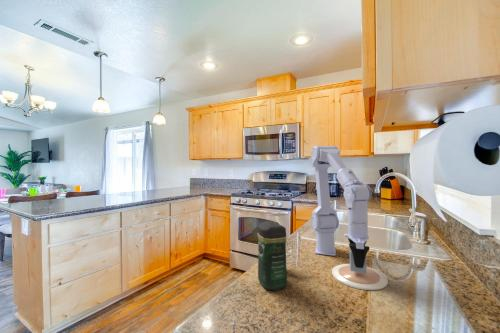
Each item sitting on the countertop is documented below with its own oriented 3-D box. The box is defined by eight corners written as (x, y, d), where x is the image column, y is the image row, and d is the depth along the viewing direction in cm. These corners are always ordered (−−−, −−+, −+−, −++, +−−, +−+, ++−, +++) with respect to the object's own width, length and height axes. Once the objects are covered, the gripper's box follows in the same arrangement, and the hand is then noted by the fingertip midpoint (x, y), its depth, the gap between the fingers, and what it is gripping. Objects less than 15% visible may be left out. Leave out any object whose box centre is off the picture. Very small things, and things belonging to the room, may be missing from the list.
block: (349, 265, 75) (349, 247, 75) (364, 267, 74) (364, 248, 74) (350, 270, 71) (350, 251, 71) (366, 273, 69) (366, 253, 70)
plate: (332, 263, 83) (332, 260, 83) (382, 269, 77) (382, 266, 77) (331, 284, 68) (331, 281, 68) (393, 294, 62) (393, 290, 62)
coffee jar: (291, 288, 66) (290, 225, 66) (265, 293, 63) (264, 227, 64) (277, 274, 75) (276, 218, 75) (255, 277, 73) (254, 220, 73)
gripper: (343, 216, 81) (344, 254, 81) (344, 226, 67) (345, 271, 67) (365, 217, 78) (366, 256, 78) (371, 228, 65) (372, 275, 64)
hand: (358, 264), depth 72 cm, fingers closed on block, 4 cm apart
